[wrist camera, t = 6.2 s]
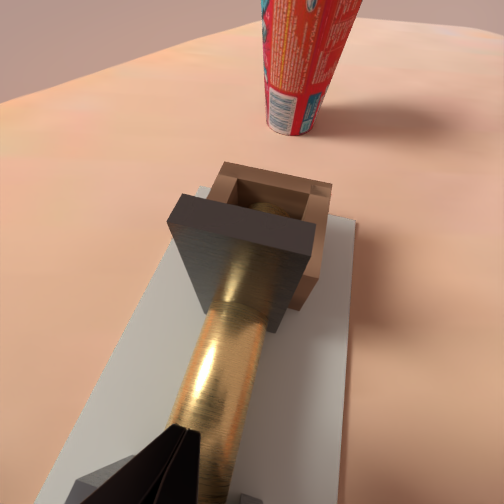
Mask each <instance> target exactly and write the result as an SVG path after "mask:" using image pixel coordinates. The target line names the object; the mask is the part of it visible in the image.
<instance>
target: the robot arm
mask: <svg viewBox="0 0 504 504" xmlns="http://www.w3.org/2000/svg"><path fill="white" fill-rule="evenodd" d="M200 446H201V433H200V431H197V430H194V429H191V428H188V429H186V427H185V426H182V425H179V424H175V423H174V424H172V425H170V426H169V427H168V428H167V429H166V430H165V431H163V432H162V433H161V434H160V435H159V436H158V437H156V438H155V439H154V440H153V441H152V442H151V443H149V444H148V445H147V446H146V447H145V448H144V449H143V450H141V451H140V452H139V453H138V454H137V455H136V456H134V457H133V458H132V459H131V460H130V461H129V462H127V463H126V464H125V465H124V466H123V467H122V468H120V469H119V470H118V471H117V472H116V473H115V474H113V475H112V476H111V477H110V478H109V479H108V480H107V481H105V482H104V483H103V484H102V485H101V486H100V487H98V488H97V489H96V490H95V491H94V492H93V493H91V494H90V495H89V496H88V497H87V498H86V499H84V500H83V501H82V502H81V503H80V504H198V489H199V468H200Z"/></svg>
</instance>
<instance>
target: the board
mask: <svg viewBox="0 0 504 504" xmlns="http://www.w3.org/2000/svg"><path fill="white" fill-rule="evenodd" d="M210 190H211V188H208V187H203V186H200V187H199V189H198V191H197V193H196V195H195V197H200V198H204V199H206V198H207V196H208V194H209V192H210ZM355 221H356V220H352V219H348V218H343V217H339V216H334V215H330V214H328V219H327V226H326V233H325V241H324V248H323V255H322V262H321V269H320V276H319V280H318V281H317V283H316V285H315V286H314V288H313V290H312V291H311V293H310V295H309V296H308V298H307V300H306V301H305V303H304V305H303V306H302V308H301V310H300V311H297V310H293V309H289V308H287V310H286V312H285V314H284V316H283V318H282V321H281V323H280V325H279V327H278V329H277V331H276V334H274V333H271V332H267V331H266V334H265V338H264V343H263V347H262V351H261V355H260V360H259V364H258V368H257V373H256V377H255V381H254V386H253V390H252V394H251V398H250V403H249V407H248V411H247V416H246V420H245V424H244V428H243V433H242V437H241V441H240V446H239V450H238V454H237V458H236V463H235V467H234V471H233V476H232V480H231V484H230V488H229V493H228V497H227V501H226V504H239V500H240V495H241V493H243V494H246V495H249V496H252V497H255V498H258V499H260V500H262V501H263V504H337V499H338V483H339V468H340V452H341V437H342V422H343V406H344V391H345V375H346V360H347V344H348V329H349V314H350V298H351V283H352V267H353V252H354V237H355ZM205 318H206V314H204V312H203V309H202V307H201V305H200V302H199V300H198V297H197V295H196V292H195V290H194V287H193V285H192V283H191V280H190V278H189V275H188V273H187V270H186V268H185V266H184V263H183V261H182V258H181V256H180V253H179V251H178V248H177V246H176V244H175V241H174V239H172V240H171V242H170V244H169V246H168V248H167V250H166V252H165V254H164V256H163V258H162V260H161V261H160V263H159V265H158V267H157V269H156V271H155V273H154V275H153V277H152V279H151V281H150V282H149V284H148V286H147V288H146V290H145V292H144V294H143V296H142V298H141V300H140V302H139V303H138V305H137V307H136V309H135V311H134V313H133V315H132V317H131V319H130V321H129V323H128V324H127V326H126V328H125V330H124V332H123V334H122V336H121V338H120V340H119V342H118V344H117V345H116V347H115V349H114V351H113V353H112V355H111V357H110V359H109V361H108V363H107V365H106V366H105V368H104V370H103V372H102V374H101V376H100V378H99V380H98V382H97V384H96V386H95V387H94V389H93V391H92V393H91V395H90V397H89V399H88V401H87V403H86V405H85V407H84V408H83V410H82V412H81V414H80V416H79V418H78V420H77V422H76V424H75V426H74V428H73V429H72V431H71V433H70V435H69V437H68V439H67V441H66V443H65V445H64V447H63V449H62V450H61V452H60V454H59V456H58V458H57V460H56V462H55V464H54V466H53V468H52V469H51V471H50V473H49V475H48V477H47V479H46V481H45V483H44V485H43V487H42V489H41V490H40V492H39V494H38V496H37V498H36V500H35V502H34V504H64V503H65V501H66V499H67V497H68V495H69V493H70V491H71V489H72V487H73V484H74V482H75V480H76V479H78V478H80V477H83V476H85V475H87V474H89V473H92V472H94V471H96V470H98V469H101V468H103V467H105V466H107V465H110V464H112V463H114V462H117V461H119V460H121V459H123V458H126V457H128V456H130V455H135V456H136V455H137V454H138V453H139V452H140V451H141V450H143V449H144V448H145V447H146V446H147V445H148V444H149V443H151V442H152V441H153V440H154V439H155V438H156V437H158V436H159V435H160V434H161V433H162V432H163V431H164V429H165V426H166V424H167V421H168V418H169V416H170V413H171V410H172V407H173V405H174V402H175V399H176V397H177V394H178V391H179V388H180V386H181V383H182V380H183V377H184V375H185V372H186V369H187V367H188V364H189V361H190V358H191V356H192V353H193V350H194V348H195V345H196V342H197V339H198V337H199V334H200V331H201V328H202V326H203V323H204V320H205Z"/></svg>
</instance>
